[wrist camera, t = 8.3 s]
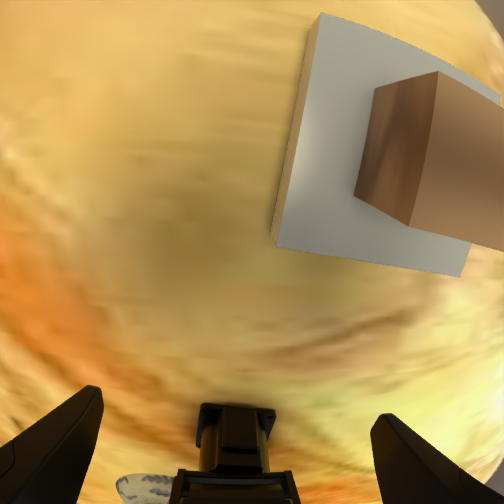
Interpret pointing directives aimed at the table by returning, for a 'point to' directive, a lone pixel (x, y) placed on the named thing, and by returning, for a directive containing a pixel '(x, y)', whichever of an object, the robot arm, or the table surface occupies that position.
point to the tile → (353, 152)
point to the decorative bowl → (144, 488)
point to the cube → (436, 159)
